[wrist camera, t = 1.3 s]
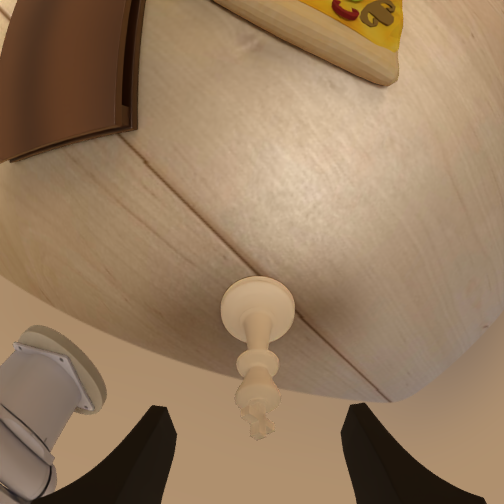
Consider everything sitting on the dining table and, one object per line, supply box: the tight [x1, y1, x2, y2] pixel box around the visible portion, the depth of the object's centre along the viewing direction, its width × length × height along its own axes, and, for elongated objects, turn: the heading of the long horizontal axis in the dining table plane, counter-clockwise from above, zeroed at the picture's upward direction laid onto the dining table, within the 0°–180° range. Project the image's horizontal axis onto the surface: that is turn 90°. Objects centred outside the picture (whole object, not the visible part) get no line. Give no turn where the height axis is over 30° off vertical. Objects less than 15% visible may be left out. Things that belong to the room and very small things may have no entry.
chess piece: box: [221, 276, 295, 440], centre depth 14 cm, size 5×5×10 cm
